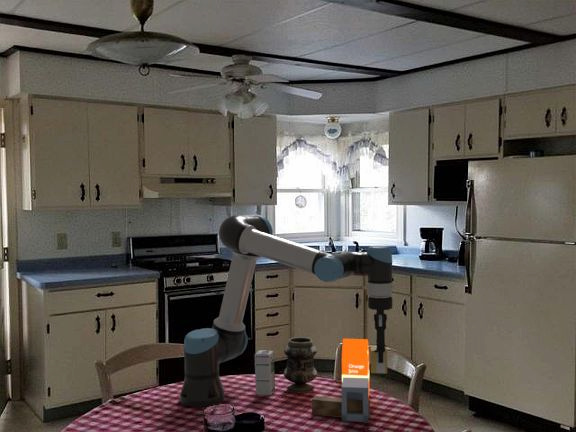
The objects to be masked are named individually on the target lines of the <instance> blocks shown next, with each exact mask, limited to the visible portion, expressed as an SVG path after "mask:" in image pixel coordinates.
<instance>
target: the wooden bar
mask: <svg viewBox="0 0 576 432" xmlns="http://www.w3.org/2000/svg"><path fill="white" fill-rule="evenodd" d="M347 413H363V400H353V399H347ZM311 415H316V416H326V417H334V418H335V417H336V418H342V397H341V398H340V397H330V396H329V397H328V396H321V395H314V396H313V397H312V398H311ZM370 416H371V401H370V400H369V401H368V420H369V419H370Z"/></svg>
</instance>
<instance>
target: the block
mask: <svg viewBox="0 0 576 432" xmlns="http://www.w3.org/2000/svg"><path fill="white" fill-rule="evenodd" d="M376 348H377V346H370V373H371V374H377V373H376V352H374V350H376ZM383 374H388V348H387V346H385V373H383Z"/></svg>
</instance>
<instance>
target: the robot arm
mask: <svg viewBox="0 0 576 432" xmlns="http://www.w3.org/2000/svg"><path fill="white" fill-rule="evenodd" d="M219 226H220V227H219V229H218V231H219V232H218V236H219V240H220V242H221V244H222V245H223V246H225V248H227V249H228V250H230V252H231V253H232V257H231V260H230V261H231V262H230V266H229V270H228V276H227V279H226V284H225V287H224V293H223V297H222V302H221V305H220V309H219V310H220V311H219V316H218V317H216V318H214V320H213V324H212V327H210V328H209V327H206V328H200V329H195V330H194V329H193V330H192V331H190V332H188V333H187V334H186V335H185V337H184V338H183V339H184V341H183V342H184V343H183V355H184V357H183V358H184V359H183V360H184V379H183V384H182V387H181V391H180V393H179V402H180V403H181V405H184V406H187V407H193V408H201V407H202V408H205V407H210V405H212V406H214V405H213V404H216V405H218V404H221V403H222V402H224V401H225V395H226V393H225V390H224V387H223V384H222V381H221V378H220V364H222V363H225V362H227V361H230V360H233V359H236V358H237V357H239V356H240V355H242V354H243V353H244V351H245V350H246V348H247V346H248V343H249V342H248V335H247V332H246V325H245V324H244V322H243V321H244V316H245V311H246V308H247V303H248V300H249V294H250V290H251V286H252V281H253V277H254V274H255V268H256V265H257V260H258V259H260V258H261V257H262V258H264V259H267V260H271V261H274V262H275V263H276V262H277V263H279V264H283V265H285V266H287V267H291V268H295V269H297V270H299V271H303V272H306V273H308V274H312V275H314V276H316V277H317V278H318V279H319V280H320V281H322V282H324V283H325V282H326V283H329V282H335V281H339V280H341V279H344V278H347V277H351V276H357V277H358V276H359V277H367V295H368V297H367V307H368V309H369V310H374V311H376V312H375V313H373V321H374V329H375V330H376V340H375V342H376V343H375V345H376V347H377V348H376V350H374V352H376V373H375V374H384V373H385V347H387V345H388V343H385V342H386V339H385V337H386V336H385V335H386V334H385V333H386V331H385V330H387V320H388V318H387V317H388V316H387V313H385V311H390V310H391V309H393V297H392V295H393V289H394V288H395V285H393V256H392V254H393V253H392V248H391V247H390V246H387V245H372V246H371V245H370V246H368V247H367V251H365V252H364V251H363V252H361V251H346V250H343V251H341V250H340V251H334V252H333V253H328V252H326V251H323V250H320V249H317V248H314V247H310V246H307V245H303V244H301V243H298V242H295V241H292V240H287V239H285V238H282V237H279V236H276V235H274V233H273V231H274V230H273V227H272V225H271V222H270V221H269V220H268V219H267V217H265V216H263V215H261V214H254V213H251V214H250V213H249V214H241V215H240V214H239V215H238V214H237V215H231V216H228V217H227V218H226V219H224V220H223V222H222V223H221V225H219Z"/></svg>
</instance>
